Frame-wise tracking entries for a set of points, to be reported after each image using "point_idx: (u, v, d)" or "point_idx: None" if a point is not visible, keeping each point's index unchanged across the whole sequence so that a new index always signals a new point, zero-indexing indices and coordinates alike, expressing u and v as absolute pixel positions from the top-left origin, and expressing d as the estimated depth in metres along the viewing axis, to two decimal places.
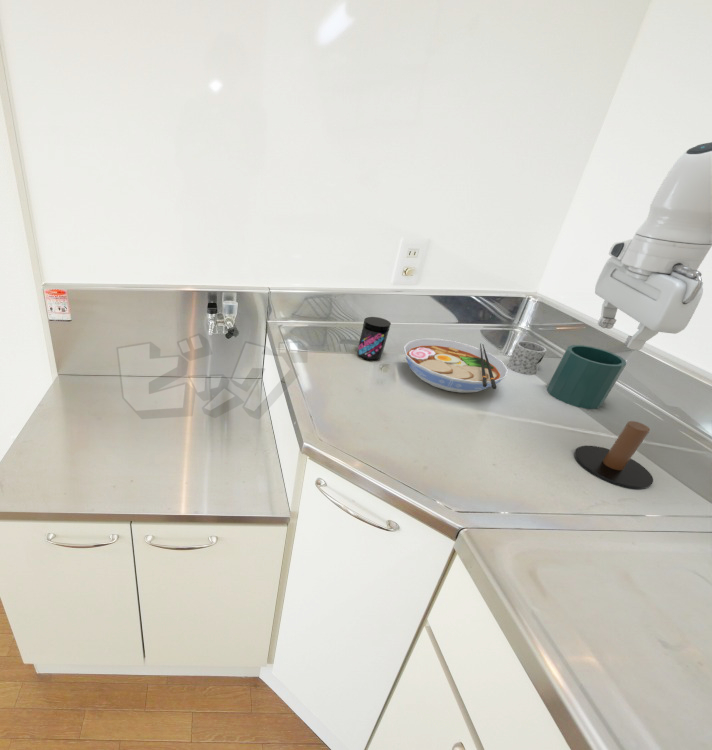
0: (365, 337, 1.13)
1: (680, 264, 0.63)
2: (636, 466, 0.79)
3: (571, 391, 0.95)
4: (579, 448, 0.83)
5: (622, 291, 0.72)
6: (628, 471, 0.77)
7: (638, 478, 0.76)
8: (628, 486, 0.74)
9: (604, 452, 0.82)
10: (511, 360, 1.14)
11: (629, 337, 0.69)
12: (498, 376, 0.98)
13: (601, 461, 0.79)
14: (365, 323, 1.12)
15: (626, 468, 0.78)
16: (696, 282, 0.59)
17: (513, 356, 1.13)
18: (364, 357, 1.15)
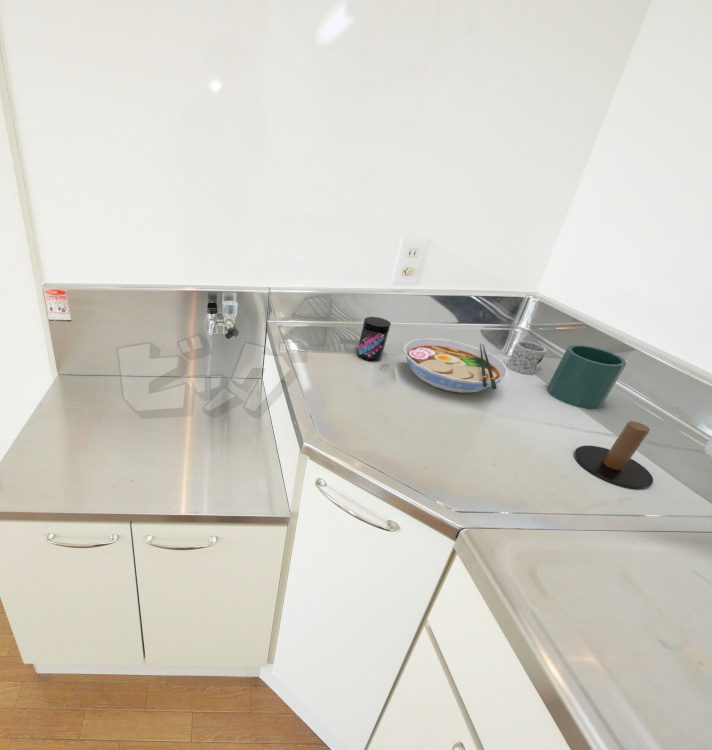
0: (365, 337, 1.13)
1: None
2: (636, 466, 0.79)
3: (571, 391, 0.95)
4: (579, 448, 0.83)
5: None
6: (628, 471, 0.77)
7: (638, 478, 0.76)
8: (628, 486, 0.74)
9: (604, 452, 0.82)
10: (511, 360, 1.14)
11: None
12: (498, 376, 0.98)
13: (601, 461, 0.79)
14: (365, 323, 1.12)
15: (626, 468, 0.78)
16: None
17: (513, 356, 1.13)
18: (364, 357, 1.15)
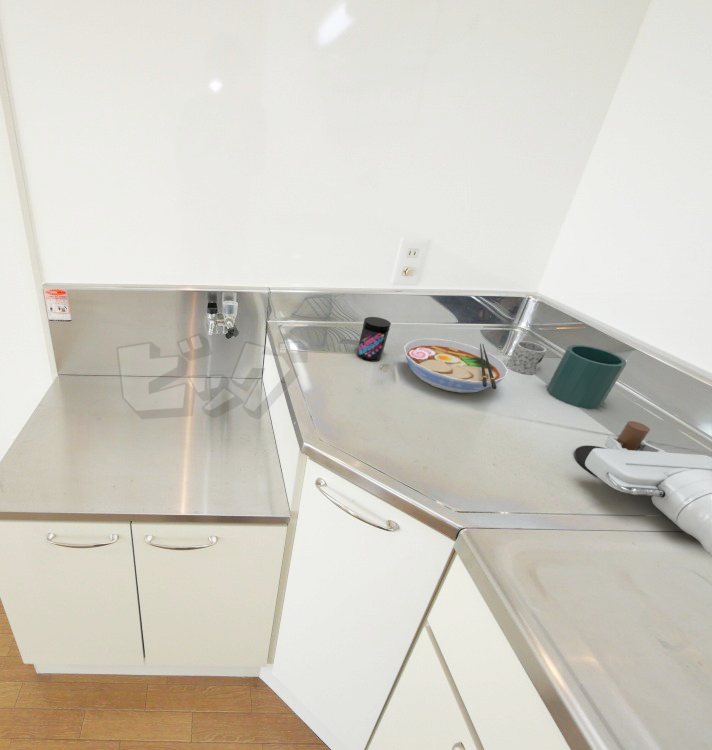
0: (365, 337, 1.13)
1: (661, 495, 0.65)
2: None
3: (571, 391, 0.95)
4: (579, 448, 0.83)
5: (673, 461, 0.70)
6: None
7: None
8: None
9: None
10: (511, 360, 1.14)
11: (621, 442, 0.75)
12: (498, 376, 0.98)
13: None
14: (365, 323, 1.12)
15: None
16: (621, 485, 0.66)
17: (513, 356, 1.13)
18: (364, 357, 1.15)
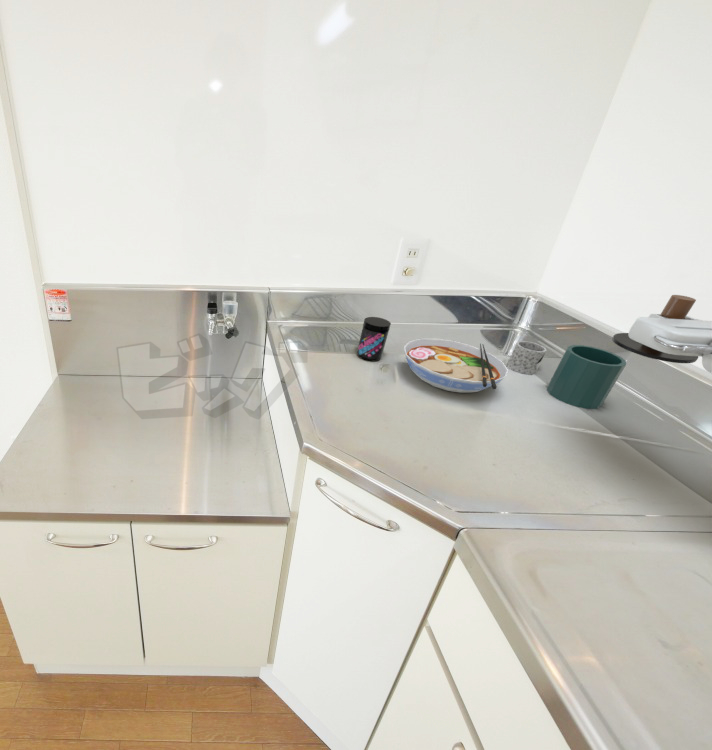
0: (365, 337, 1.13)
1: None
2: None
3: (571, 391, 0.95)
4: (617, 334, 0.80)
5: None
6: None
7: None
8: (673, 360, 0.71)
9: None
10: (511, 360, 1.14)
11: (664, 316, 0.72)
12: (498, 376, 0.98)
13: None
14: (365, 323, 1.12)
15: None
16: (671, 344, 0.63)
17: (513, 356, 1.13)
18: (364, 357, 1.15)
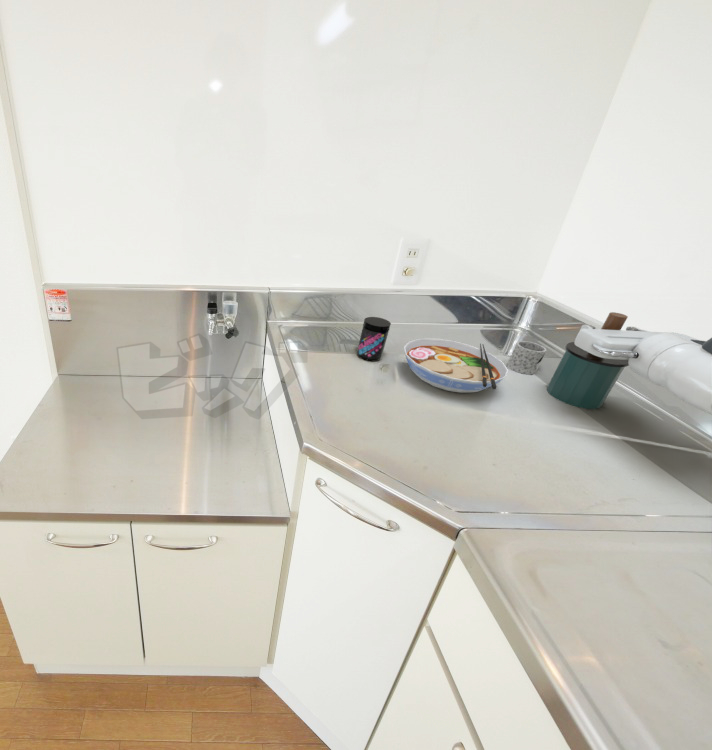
0: (365, 337, 1.13)
1: (635, 355, 0.80)
2: None
3: (571, 391, 0.95)
4: (570, 343, 0.98)
5: (646, 335, 0.85)
6: None
7: (618, 360, 0.91)
8: (610, 364, 0.89)
9: None
10: (511, 360, 1.14)
11: (593, 327, 0.90)
12: (498, 376, 0.98)
13: None
14: (365, 323, 1.12)
15: None
16: (603, 350, 0.81)
17: (513, 356, 1.13)
18: (364, 357, 1.15)
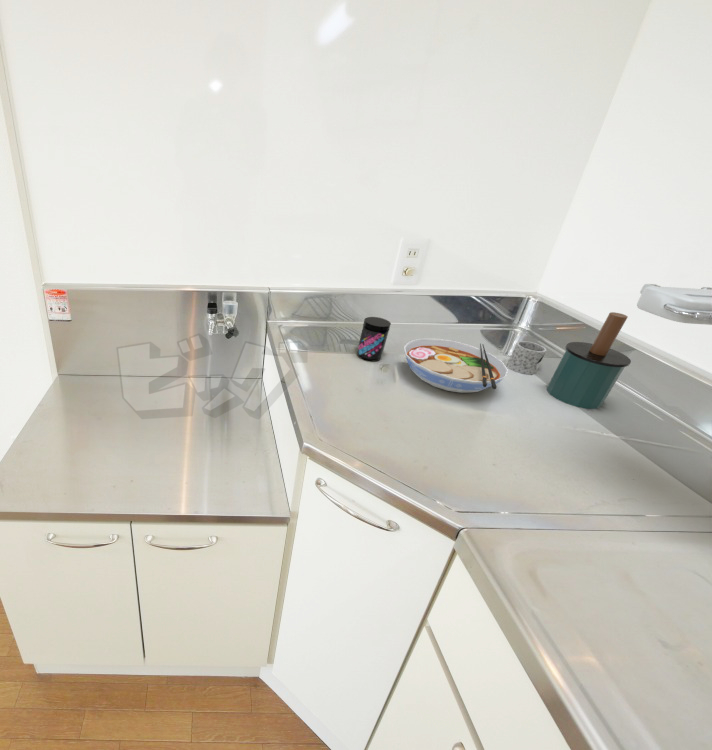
0: (365, 337, 1.13)
1: None
2: (617, 353, 0.94)
3: (571, 391, 0.95)
4: (570, 343, 0.98)
5: None
6: (610, 356, 0.92)
7: (618, 360, 0.91)
8: (610, 364, 0.89)
9: (590, 345, 0.97)
10: (511, 360, 1.14)
11: (659, 286, 0.70)
12: (498, 376, 0.98)
13: (588, 350, 0.95)
14: (365, 323, 1.12)
15: (609, 354, 0.93)
16: (683, 311, 0.61)
17: (513, 356, 1.13)
18: (364, 357, 1.15)
